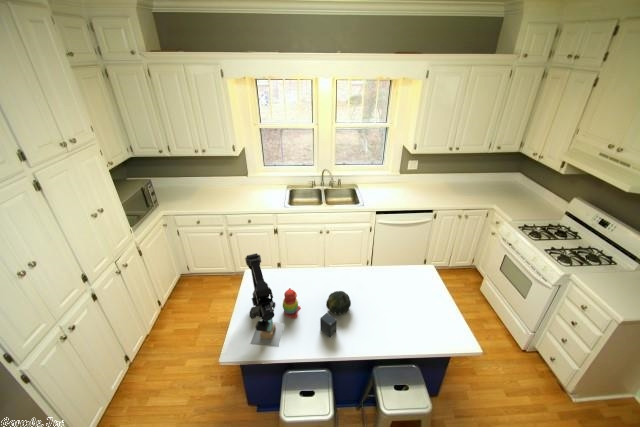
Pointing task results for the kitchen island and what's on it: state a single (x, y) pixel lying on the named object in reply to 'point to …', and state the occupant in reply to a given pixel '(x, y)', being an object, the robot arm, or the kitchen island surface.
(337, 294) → the squash
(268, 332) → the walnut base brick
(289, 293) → the stacking bear
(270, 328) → the teal brick
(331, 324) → the box
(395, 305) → the kitchen island surface
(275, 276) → the kitchen island surface
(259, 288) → the robot arm
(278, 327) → the baseplate
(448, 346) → the kitchen island surface
